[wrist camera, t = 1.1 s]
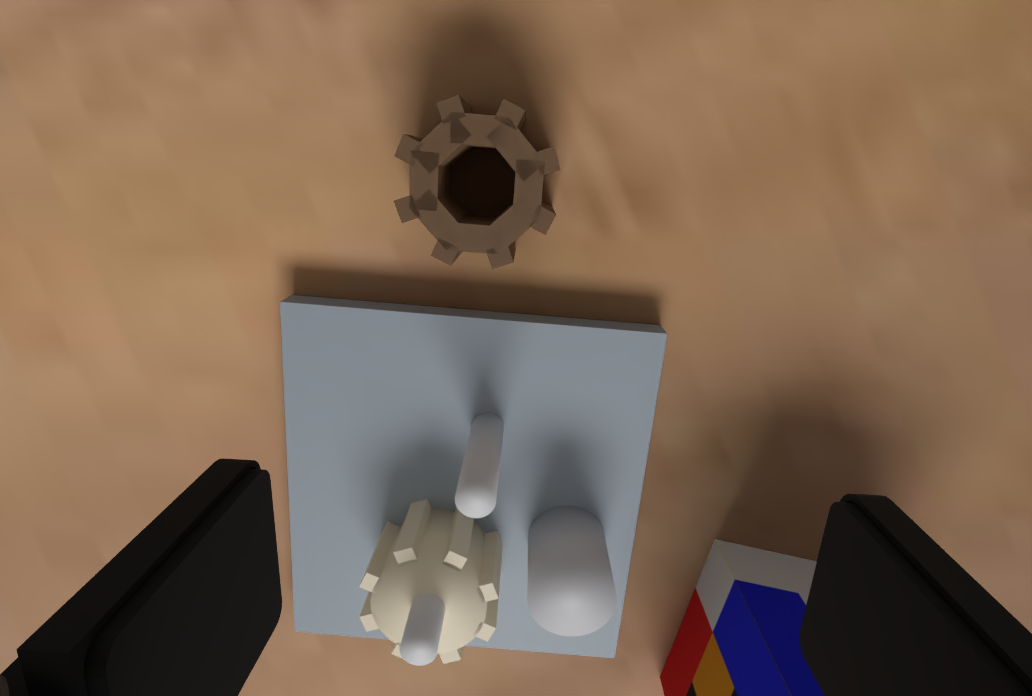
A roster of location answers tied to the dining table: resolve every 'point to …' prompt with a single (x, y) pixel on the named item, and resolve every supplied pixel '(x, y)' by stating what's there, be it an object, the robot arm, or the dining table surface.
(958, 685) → the robot arm
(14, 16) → the dining table surface
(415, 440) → the gear board
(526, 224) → the walnut gear
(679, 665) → the puzzle toy
